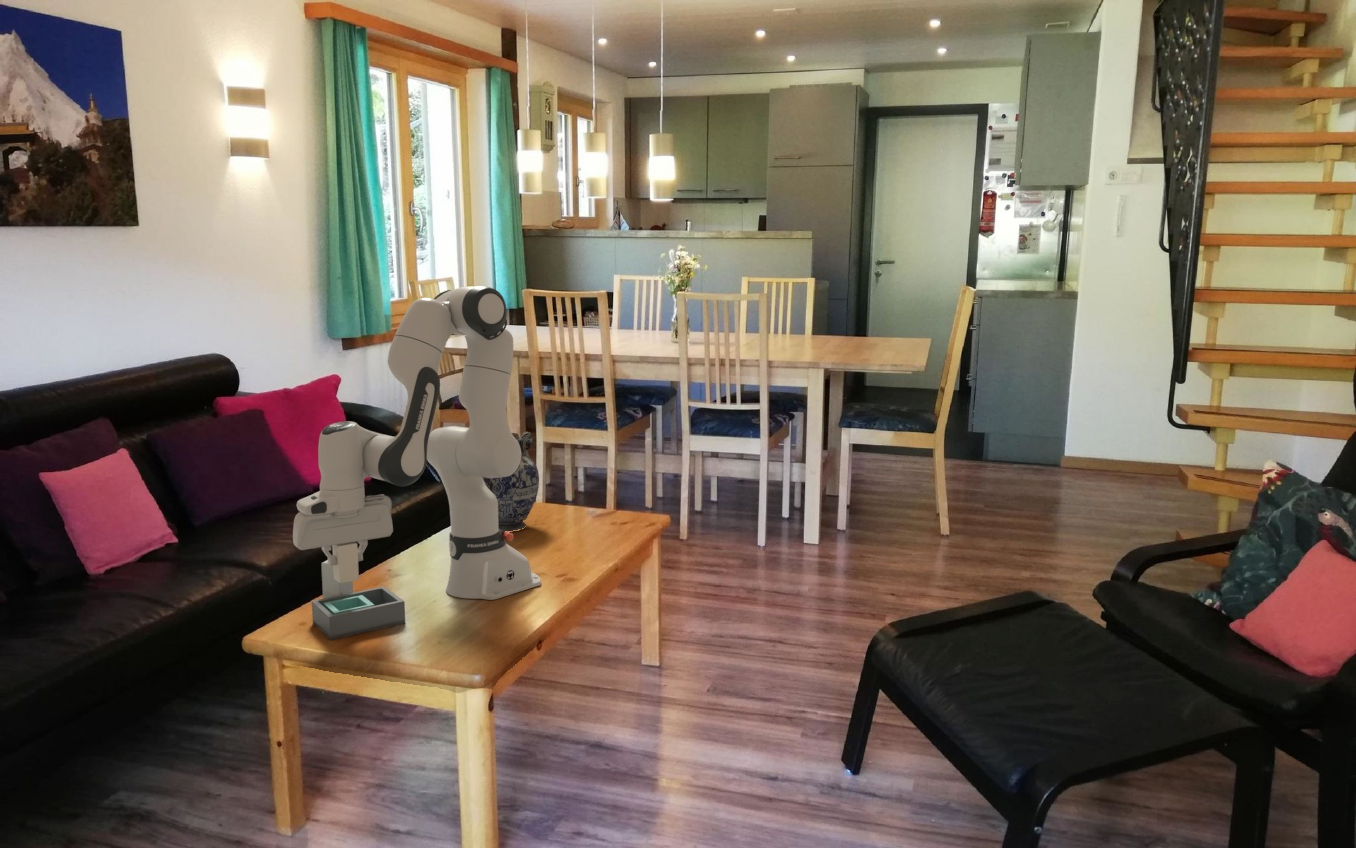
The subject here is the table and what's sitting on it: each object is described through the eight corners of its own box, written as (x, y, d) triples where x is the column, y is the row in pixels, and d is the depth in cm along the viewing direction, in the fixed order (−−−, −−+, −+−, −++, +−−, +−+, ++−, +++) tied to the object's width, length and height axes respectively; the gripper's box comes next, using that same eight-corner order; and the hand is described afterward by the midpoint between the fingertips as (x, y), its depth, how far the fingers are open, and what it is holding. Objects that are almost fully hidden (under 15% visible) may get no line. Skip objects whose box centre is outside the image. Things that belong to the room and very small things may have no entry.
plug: (352, 575, 207) (350, 534, 205) (358, 579, 203) (357, 538, 202) (333, 578, 204) (331, 537, 203) (339, 583, 201) (338, 541, 200)
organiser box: (385, 607, 216) (384, 586, 216) (405, 623, 207) (404, 601, 206) (312, 623, 207) (311, 600, 206) (330, 640, 197) (329, 617, 197)
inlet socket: (363, 612, 211) (362, 595, 210) (375, 622, 205) (374, 604, 204) (324, 620, 206) (323, 603, 205) (335, 631, 200) (334, 613, 199)
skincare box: (340, 616, 211) (337, 564, 209) (323, 615, 212) (320, 563, 210) (355, 606, 217) (352, 556, 215) (338, 605, 218) (335, 554, 216)
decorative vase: (506, 541, 268) (503, 442, 263) (459, 532, 278) (455, 437, 273) (556, 524, 285) (554, 432, 281) (510, 516, 295) (507, 427, 291)
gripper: (385, 490, 210) (387, 551, 212) (288, 502, 198) (292, 567, 200) (396, 495, 205) (398, 558, 207) (297, 509, 193) (301, 575, 195)
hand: (345, 562), depth 203 cm, fingers closed on plug, 4 cm apart
